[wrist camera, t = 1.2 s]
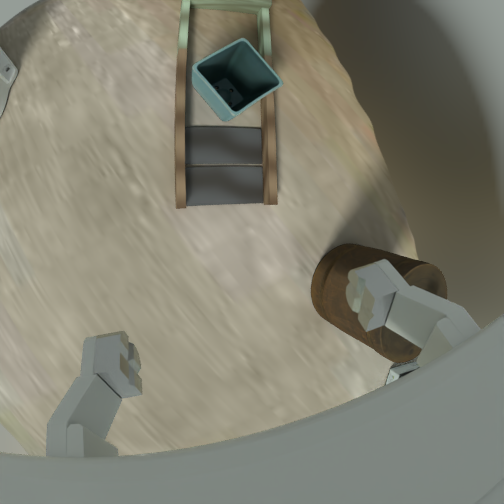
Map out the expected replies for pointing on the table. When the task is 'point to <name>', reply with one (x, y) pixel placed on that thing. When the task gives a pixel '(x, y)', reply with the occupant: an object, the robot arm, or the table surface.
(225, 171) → the channel
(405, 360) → the wooden container
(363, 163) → the table surface
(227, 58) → the flower pot
